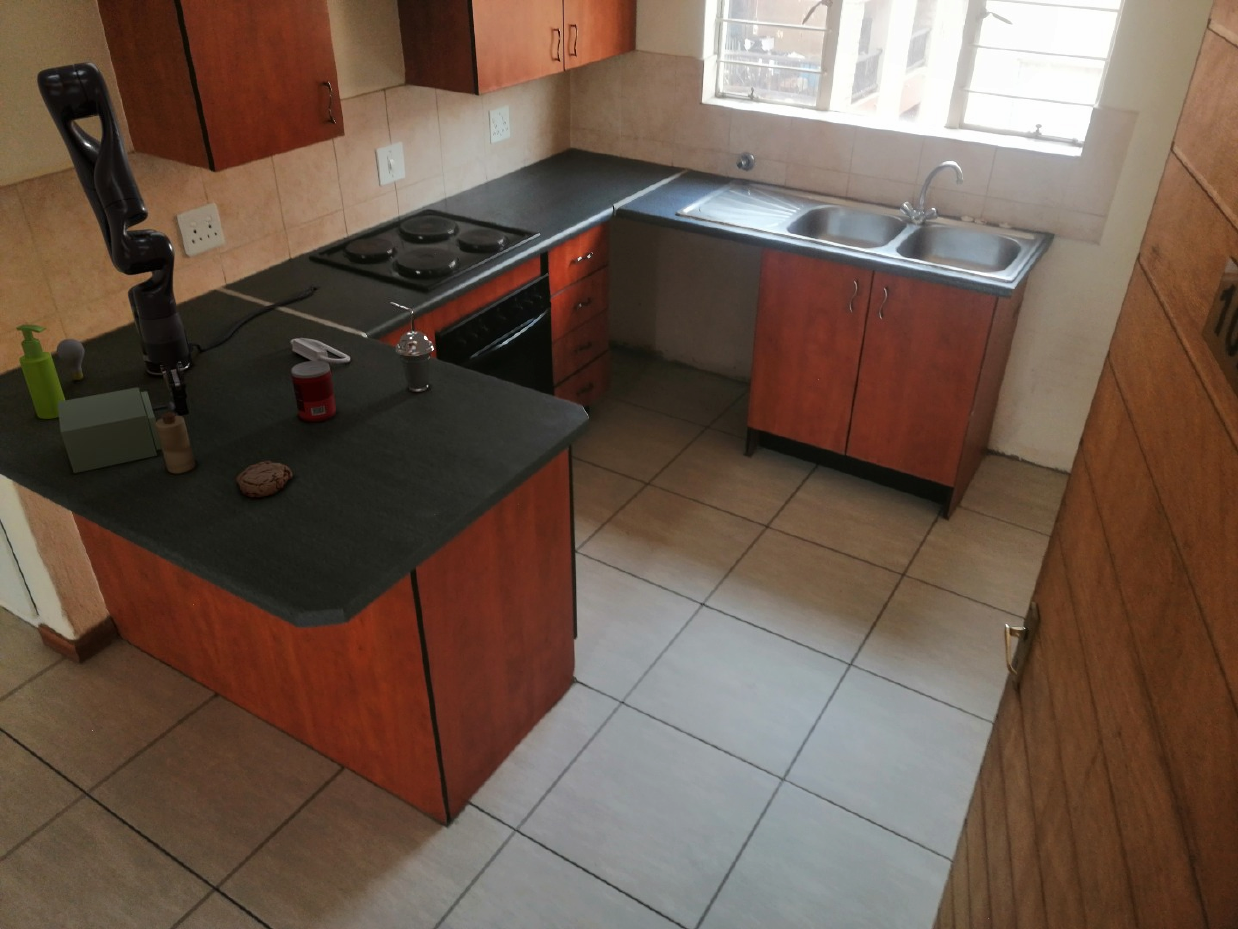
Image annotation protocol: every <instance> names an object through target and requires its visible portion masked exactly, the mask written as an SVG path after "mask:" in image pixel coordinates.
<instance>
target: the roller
mask: <svg viewBox="0 0 1238 929" xmlns="http://www.w3.org/2000/svg"><path fill="white" fill-rule="evenodd" d="M159 419H160V418H159ZM156 428H157V432H158V435H159V439H160V443H161V447H162V449H161V450H162V454H163V458H164V462H165V465H166V469H167V471H168V472H169V473H171V474H182V473H186V472H189V471H191V470H192V469H194V468H195V466H196V463H195V462H196V461H195V458H194V454H193V450H192V445H191V442H190V437H189V432H188V430H187V426H186V422H185V418H184V417H183V416H175V414H174V413H173V412H169V411H166V412H164V413H162V414H161V419H160V420H158V421H157V422H156Z"/></svg>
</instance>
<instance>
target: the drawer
mask: <svg viewBox="0 0 1238 929" xmlns="http://www.w3.org/2000/svg"><path fill="white" fill-rule="evenodd" d="M140 395H141V398H142V402H143V405H144V409H145V412H146V416H147V419H148V423H149V427H150V431H151V434H152V438H153V442H154V446H155V449H156V451H158V450H162V447H161V443H160V439H159V435H158V432H157V428H156V422H157V421H158V420H160V419H161V418H162V417H161V418H156V417H155V416H156V415H155V414H154V412H156V411H162V410H168V412H173V413H174V414H175V416H178V414H177V411H176V408H175V404H174V402H173V401H169V402H167V404H165V405H164V404H163V405H159V406H155V407H152V404H151V400H150V397H149V393H148V391H141V392H140Z"/></svg>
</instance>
